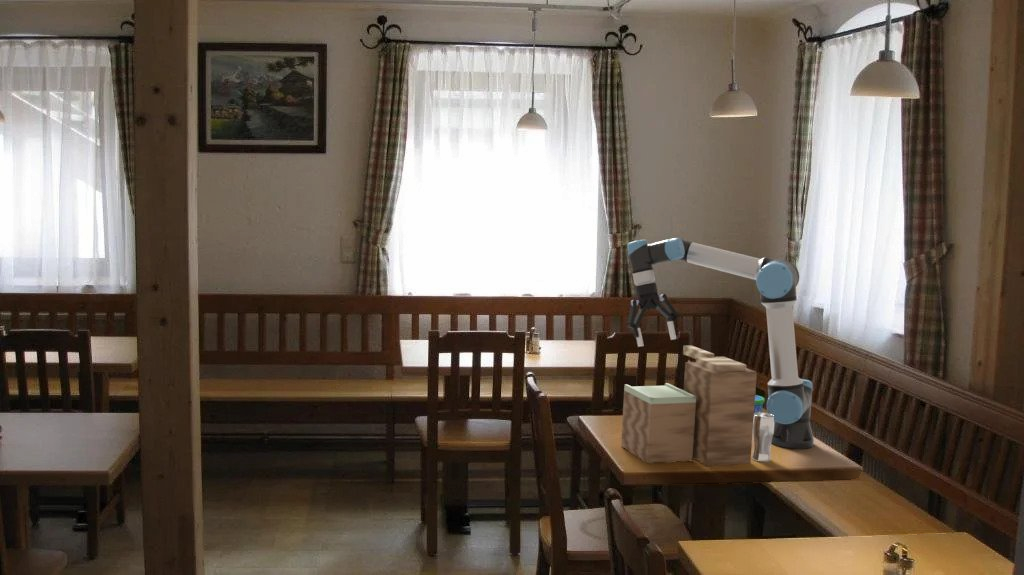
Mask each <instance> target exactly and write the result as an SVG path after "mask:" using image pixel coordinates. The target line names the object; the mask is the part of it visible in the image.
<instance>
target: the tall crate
mask: <svg viewBox="0 0 1024 575" xmlns="http://www.w3.org/2000/svg"><path fill="white" fill-rule="evenodd" d="M684 366H685V367H684V377H683V378H684V380H683V381H684V382H683V390H684V391H686V392H688V393H690V394H692V395H694V396H696V408H695V424H694V439H693V455H692V457H693V458H692V459H694V458H695V459H694V460H696V461H697V460H698V461H697V462H699V461H700V462H699V463H701V464H702V463H703V465H705V466H707V467H710V466H726V465H727V466H728V465H729V466H730V465H742V464H744V465H745V464H751V459H752V447H753V446H752V445H753V420H754V406H755V395H756V391H757V390H756V389H757V379H758V378H757V377H758V376H757V375H758V373H757V372H758V371H755V370H753V369H750V368H747V367H746V371H727V372H716V371H714V370H711V369H709V368H706V367H704V366H701V365H699V364H696V361H686V362H685V364H684Z"/></svg>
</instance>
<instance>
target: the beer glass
mask: <svg viewBox="0 0 1024 575" xmlns="http://www.w3.org/2000/svg"><path fill="white" fill-rule="evenodd" d="M774 427H775V416H774V415H773V414H770V413H768V412H762V411H761V412H759V413H754V420H753V435H752V444H753V451H752V453H751V459H752V460H753V461H755V462H759V463H767V462H768V463H770V462H771V460H772V459H771V457H772V456H771V447H772V439H773V435H774Z"/></svg>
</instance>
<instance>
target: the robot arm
mask: <svg viewBox="0 0 1024 575" xmlns="http://www.w3.org/2000/svg"><path fill="white" fill-rule="evenodd" d="M626 248H627V254H628V255H627V257H628V260H629V265H630V269H631V274H632V279H633V283H634V285H635V287H634V288H635V294H636V297H637V299H632V300H630V301H629V304H630V307H629V308H630V309H629V313H628V316H627V324H626V328H629V329H631V330H632V334H633V337H634V338H635V339H636V344H637V348H639V347H644V346H645V345H644V340H643V336H642V335H643V334H642V330H641V327H639V326H640V324H641V321H642V318H643V316H644V314H645V313H646V312H647V311H651V310H656V311H658V312H659V313H660V314H661V315H662V316H663V317H664V318H666V320H668V321H667V322H666V324H667V328H668V333H669V337H670V338H669V339H670V341H672V340H673V341H674V340H677V335H676V334H677V333H676V330H677V327H676V322H675V321H676V319H678V318H679V317H680V316H679V313H678V312H677V311H676V309H675V308H674V307H673V305H672V304H671V302H670V301H669V299H668V296H667V294H666V293H663V294H662V293H661V294H660V295H659V294H658V293H659V292H658V286H657V282H655V281H656V278H655V277H656V276H655V273H654V268H653V265H658V264H663V263H667V262H668V263H669V262H671V261H673V262H674V261H679V262H684V263H689V264H692V265H696V266H701V267H704V268H708V269H712V270H716V271H719V272H722V273H728V274H731V275H734V276H735V275H736V276H739V277H742V278H746V279H750V280H754V281H755V282H756V284H755V285H756V287H757V289H758V292H759V296H760V304H761V305H762V306H764V307H765V312H766V323H767V325H766V326H767V336H768V350H769V359H770V360H769V362H770V373H771V379H769V381H768V382H767V392H768V395H767V396H768V398H767V401H766V411H767V413H770V414H773V415H774V416H775V427H774V435H773V439H772V443H771V445H775V446H778V447H782V448H786V449H796V450H797V449H799V450H801V449H809V448H812V447H813V446H814V441H815V440H814V436H813V430H812V427H811V413H812V411H811V410H812V398H813V390H814V388H813V382H812V381H811V380H809V379H804V378H800V377H799V371H798V360H797V350H796V349H797V346H796V335H795V334H796V333H795V324H794V323H795V322H794V311H793V310H794V309H793V306H794V304H795V303H796V302H797V286H798V284H799V281H800V273H799V269H798V267H797V266H796V265H795V264H794V263H793V262H791V261H789V260H785V259H778V258H772V257H766V256H764V257H762V258H759V257H754V256H750V255H746V254H742V253H737V252H734V251H731V250H727V249H722V248H718V247H713V246H709V245H705V244H701V243H697V242H693V241H688V240H686V239H685V238H681V237H675V238H674V237H673V238H668V239H665V240H661V241H655V242H652V243H649V242H648V240H647V239H645V238H643V239H640V240H638V239H637V240H634V241H631V242H628V243H627V245H626ZM660 301H661V303H660ZM638 305H639V307H638ZM637 308H638V312H637ZM636 312H637V313H636Z"/></svg>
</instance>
